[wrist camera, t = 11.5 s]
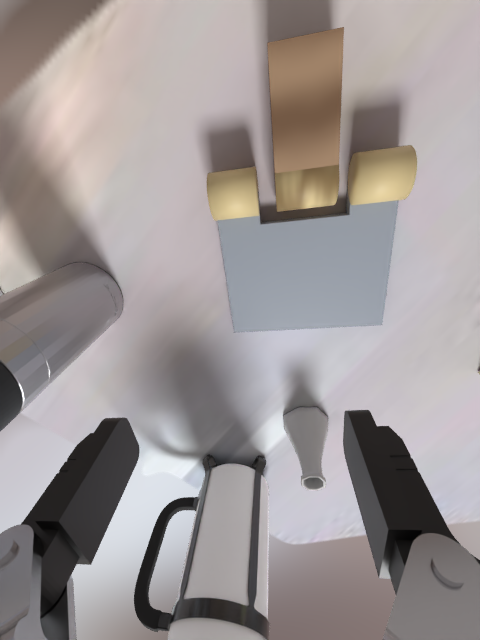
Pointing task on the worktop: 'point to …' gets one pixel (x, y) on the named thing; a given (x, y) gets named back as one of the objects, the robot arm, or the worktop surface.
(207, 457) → the coffee press
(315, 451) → the flask
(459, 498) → the worktop surface
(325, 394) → the worktop surface
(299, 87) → the tan wooden beam
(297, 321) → the grey flat piece
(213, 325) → the worktop surface
